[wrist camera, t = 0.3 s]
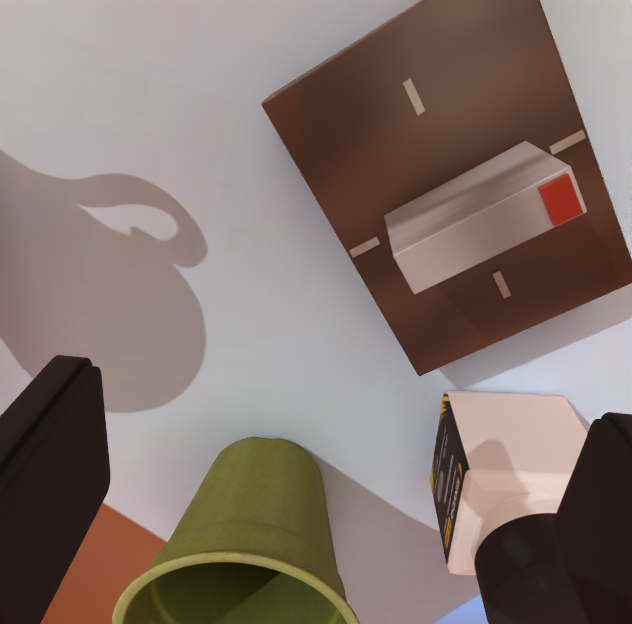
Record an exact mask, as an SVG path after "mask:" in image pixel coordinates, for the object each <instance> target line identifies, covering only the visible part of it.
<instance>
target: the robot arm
mask: <svg viewBox="0 0 632 624" xmlns="http://www.w3.org/2000/svg"><path fill="white" fill-rule="evenodd" d="M109 484H110V464H109V453H108V442H107V431H106V421H105V410H104V399H103V388H102V377H101V371H100V368H99V367H95V366H92V363H91V361H90V359H88V358H83V357H73V356H64V355H56V356H55V357H54V358H52V360H51V361H50V362H49V363H48V364H47V365H46V366H45V367H44V368H43V370H42V371H41V372H40V373H39V374H38V375H37V376H36V377H35V378H34V380H33V381H32V382H31V383H30V384H29V385H28V386H27V387H26V389H25V390H24V391H23V392H22V393H21V394H20V395H19V396H18V397H17V399H16V400H15V401H14V402H13V403H12V404H11V405H10V406H9V407H8V409H7V410H6V411H5V412H4V413H3V414H2V415H1V416H0V624H40V623H41V621H42V619H43V617H44V615H45V613H46V611H47V609H48V607H49V605H50V603H51V601H52V600H53V598H54V596H55V594H56V592H57V590H58V588H59V586H60V584H61V582H62V580H63V578H64V576H65V574H66V572H67V570H68V568H69V566H70V565H71V563H72V560H73V558H74V557H75V555H76V553H77V551H78V549H79V547H80V545H81V543H82V541H83V539H84V537H85V535H86V533H87V531H88V530H89V527H90V526H91V524H92V522H93V520H94V518H95V516H96V514H97V512H98V510H99V508H100V506H101V504H102V502H103V500H104V498H105V496H106V494H107V492H108V489H109ZM552 533H553V538H554V542H555V544H556V546H557V549H558V551H559V554H560V556H561V558H562V561H563V563H564V566H565V568H566V570H567V573H568V575H569V577H570V580H571V582H572V585H573V587H574V589H575V592H576V594H577V597H578V599H579V601H580V604H581V606H582V609H583V611H584V613H585V616H586V618H587V620H588V623H589V624H632V415H631V414H621V413H611V412H609V413H605V414H604V415H603V416H602V418H601V419H596V420H594V421H593V423H592V425H591V427H590V429H589V432H588V434H587V437H586V439H585V442H584V445H583V447H582V450H581V452H580V455H579V457H578V460H577V462H576V465H575V467H574V470H573V472H572V475H571V477H570V480H569V482H568V485H567V487H566V490H565V493H564V495H563V498H562V500H561V503H560V505H559V508H558V510H557V513H556V515H555V518H554V521H553V526H552Z"/></svg>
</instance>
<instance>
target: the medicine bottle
mask: <svg viewBox="0 0 632 624" xmlns="http://www.w3.org/2000/svg"><path fill="white" fill-rule="evenodd" d="M587 434H588V433H587V431H586V430H585V428H584V426H583V425H582V423H581V422H580V420H579V418H578V417H577V415H576V413H575V412H574V410H573V409H572V407H571V405H570V404H569V402H568V400H567V399H566V398H565V397H563V396H554V395H533V394H512V393H491V392H471V391H446V392H445V393H444V396H443V402H442V408H441V414H440V421H439V427H438V433H437V439H436V446H435V452H434V458H433V465H432V471H431V477H430V483H431V488H432V493H433V498H434V503H435V508H436V513H437V518H438V523H439V528H440V533H441V538H442V543H443V549H444V554H445V559H446V564H447V569H448V571H449V572H450V573H451V574H454V575H470V576H477V580H478V584H479V588H480V592H481V596H482V600H483V604H484V608H485V612H486V616H487V620H488V623H489V624H589V623H588V620H587V618H586V616H585V613H584V611H583V609H582V606H581V604H580V601H579V599H578V597H577V594H576V592H575V589H574V587H573V585H572V582H571V580H570V577H569V575H568V573H567V570H566V568H565V566H564V563H563V561H562V558H561V556H560V554H559V551H558V549H557V546H556V544H555V542H554V538H553V533H552V526H553V521H554V518H555V515H556V513H557V510H558V508H559V505H560V503H561V500H562V498H563V495H564V493H565V490H566V487H567V485H568V482H569V480H570V477H571V475H572V472H573V470H574V467H575V465H576V462H577V460H578V457H579V455H580V452H581V450H582V447H583V445H584V442H585V439H586V437H587Z"/></svg>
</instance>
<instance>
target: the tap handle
mask: <svg viewBox="0 0 632 624" xmlns="http://www.w3.org/2000/svg"><path fill="white" fill-rule="evenodd" d="M585 212H587V209H586V206H585V204H584V201H583V198H582V196H581V193H580V190H579V188H578V185H577V182H576V180H575V177H574V174H573V172H572V169H571V167H570V166H569V165H567V164H566V163H564V162H562V161H560V160H559V159H557V158H555V157H553V156H552V155H550V154H548V153H546V152H545V151H543V150H541V149H539V148H538V147H536V146H534V145H532V144H531V143H529V142H527V141H524V142H522V143H520V144H518V145H516V146H514V147H513V148H511V149H509V150H507V151H505V152H503V153H501V154H499V155H497V156H495V157H494V158H492V159H490V160H488V161H486V162H484V163H482V164H480V165H478V166H477V167H475V168H473V169H471V170H469V171H467V172H465V173H463V174H461V175H460V176H458V177H456V178H454V179H452V180H450V181H448V182H446V183H444V184H443V185H441V186H439V187H437V188H435V189H433V190H431V191H429V192H427V193H426V194H424V195H422V196H420V197H418V198H416V199H414V200H412V201H410V202H408V203H407V204H405V205H403V206H401V207H399V208H397V209H395V210H393V211H391V212H390V213H388V214H386V215H384V218H385V222H386V227H387V231H388V235H389V240H390V244H391V248H392V253H393V257H394V259H395V260H396V262H397V264H398V266H399V268H400V270H401V271H402V273H403V275H404V277H405V279H406V281H407V282H408V284H409V286H410V288H411V290H412V292H413V293H414V294H417V293H419V292H421V291H423V290H425V289H427V288H429V287H432V286H434V285H436V284H438V283H440V282H442V281H444V280H446V279H448V278H450V277H452V276H454V275H457V274H459V273H461V272H463V271H465V270H467V269H469V268H471V267H473V266H475V265H477V264H479V263H481V262H484V261H486V260H488V259H490V258H492V257H494V256H496V255H498V254H500V253H502V252H504V251H506V250H509V249H511V248H513V247H515V246H517V245H519V244H521V243H523V242H525V241H527V240H529V239H531V238H533V237H536V236H538V235H540V234H542V233H544V232H546V231H548V230H550V229H552V228H554V227H556V226H558V225H561V224H563V223H565V222H567V221H569V220H571V219H573V218H575V217H577V216H579V215H581V214H583V213H585Z"/></svg>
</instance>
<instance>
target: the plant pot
mask: <svg viewBox="0 0 632 624" xmlns="http://www.w3.org/2000/svg"><path fill="white" fill-rule="evenodd" d="M112 624H359V621H358V619H357V617H356V615H355V613H354V611H353V610H352V608H351V607H350V605H349V604H348V603H347V600H346V595H345V590H344V586H343V583H342V580H341V578H340V575H339V574H338V570H337V565H336V559H335V553H334V547H333V541H332V535H331V529H330V523H329V518H328V512H327V506H326V500H325V493H324V487H323V482H322V477H321V473H320V470H319V468H318V466H317V464H316V463H315V461H314V460H313V458H312V457H311V456H310V455H309V454H308V453H307V452H306V451H304V450H303V449H302V448H300V447H298V446H297V445H295V444H293V443H291V442H289V441H286V440H283V439H264V438H258V437H251V438H246V439H243V440H240V441H237V442H235V443H233V444H231V445H230V446H228V447H227V448H225V449H224V450H223V451H222V452H221V453H220V454H219V456H218V457H217V458H216V460H215V462H214V463H213V465H212V467H211V468H210V470H209V472H208V474H207V475H206V477H205V479H204V480H203V482H202V484H201V486H200V488H199V489H198V491H197V493H196V495H195V497H194V498H193V500H192V502H191V503H190V505H189V507H188V508H187V510H186V512H185V513H184V515H183V517H182V519H181V520H180V522H179V524H178V526H177V527H176V529H175V531H174V533H173V534H172V536H171V538H170V540H169V541H168V543H167V544H166V545H165V546H164V547H163V548H162V549H161V550H160V551H159V552H158V554H157V555H156V556H155V558H154V560H153V561H152V563H151V564H150V566H149V568H148V570H147V571H145V572H144V573H142V574H141V575H140V576H138V577H137V578H136V579H135V580H133V581H132V582H131V584H129V586H128V587H127V588H126V589H125V590H124V592H123V593H122V595H121V597H120V598H119V600H118V602H117V604H116V606H115V609H114V612H113V618H112Z"/></svg>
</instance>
